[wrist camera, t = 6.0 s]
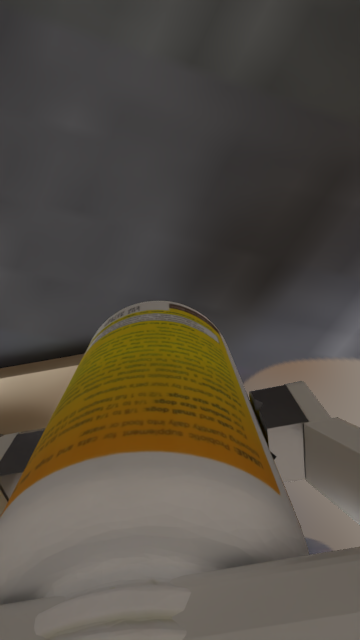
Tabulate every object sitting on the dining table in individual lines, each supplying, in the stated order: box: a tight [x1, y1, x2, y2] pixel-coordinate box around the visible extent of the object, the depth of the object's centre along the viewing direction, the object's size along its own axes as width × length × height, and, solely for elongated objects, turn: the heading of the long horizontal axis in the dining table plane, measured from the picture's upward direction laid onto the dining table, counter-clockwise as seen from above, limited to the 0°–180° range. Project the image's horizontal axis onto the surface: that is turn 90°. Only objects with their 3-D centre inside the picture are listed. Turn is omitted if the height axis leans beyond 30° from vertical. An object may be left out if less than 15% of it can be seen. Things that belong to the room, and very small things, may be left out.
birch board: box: [0, 354, 84, 435], centre depth 19 cm, size 16×16×1 cm
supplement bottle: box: [0, 301, 309, 640], centre depth 8 cm, size 6×6×10 cm
